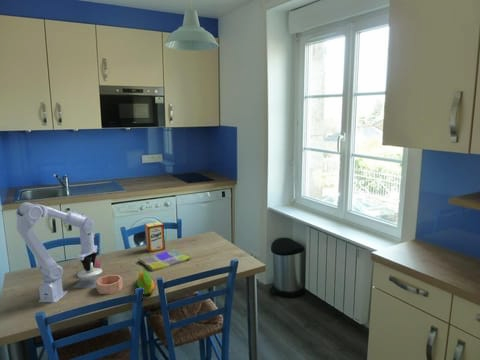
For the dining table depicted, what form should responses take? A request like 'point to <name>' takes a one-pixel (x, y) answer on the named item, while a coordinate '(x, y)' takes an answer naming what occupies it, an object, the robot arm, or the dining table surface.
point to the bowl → (109, 284)
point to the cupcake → (97, 264)
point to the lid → (90, 272)
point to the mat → (87, 282)
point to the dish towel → (163, 260)
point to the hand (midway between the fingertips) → (89, 268)
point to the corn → (145, 282)
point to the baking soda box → (155, 236)
